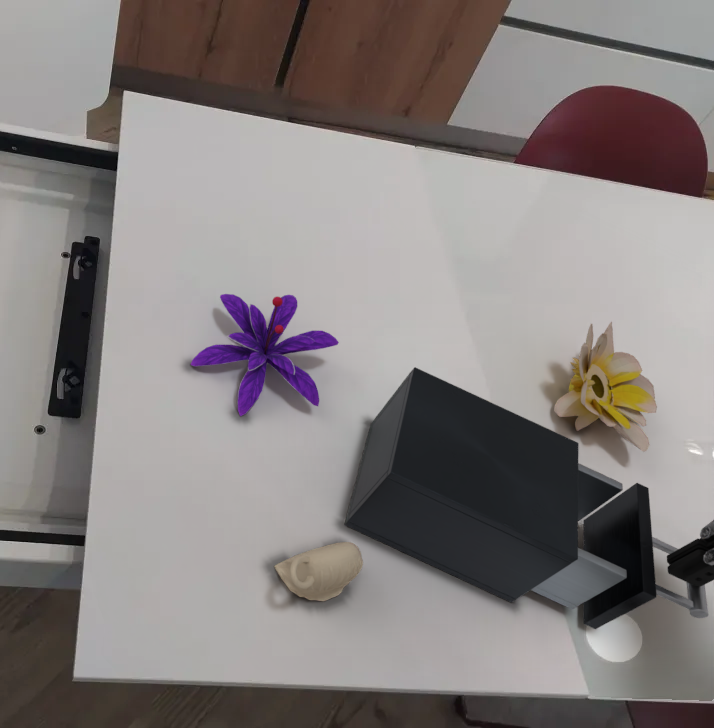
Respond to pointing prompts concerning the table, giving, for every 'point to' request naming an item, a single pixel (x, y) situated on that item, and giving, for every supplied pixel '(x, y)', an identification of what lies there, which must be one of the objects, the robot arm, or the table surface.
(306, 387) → the decorative flower
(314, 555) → the decorative ornament
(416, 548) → the cabinet
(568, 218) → the table surface
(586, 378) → the decorative flower
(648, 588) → the drawer with silver handle
